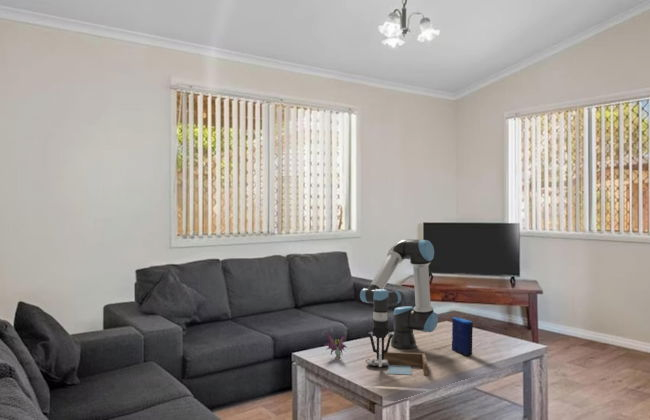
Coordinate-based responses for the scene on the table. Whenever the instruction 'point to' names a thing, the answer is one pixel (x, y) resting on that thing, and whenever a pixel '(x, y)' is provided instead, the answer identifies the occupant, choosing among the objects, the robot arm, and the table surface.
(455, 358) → the table surface
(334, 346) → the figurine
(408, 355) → the corner walls
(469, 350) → the book
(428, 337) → the table surface
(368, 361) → the stone
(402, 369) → the mat
